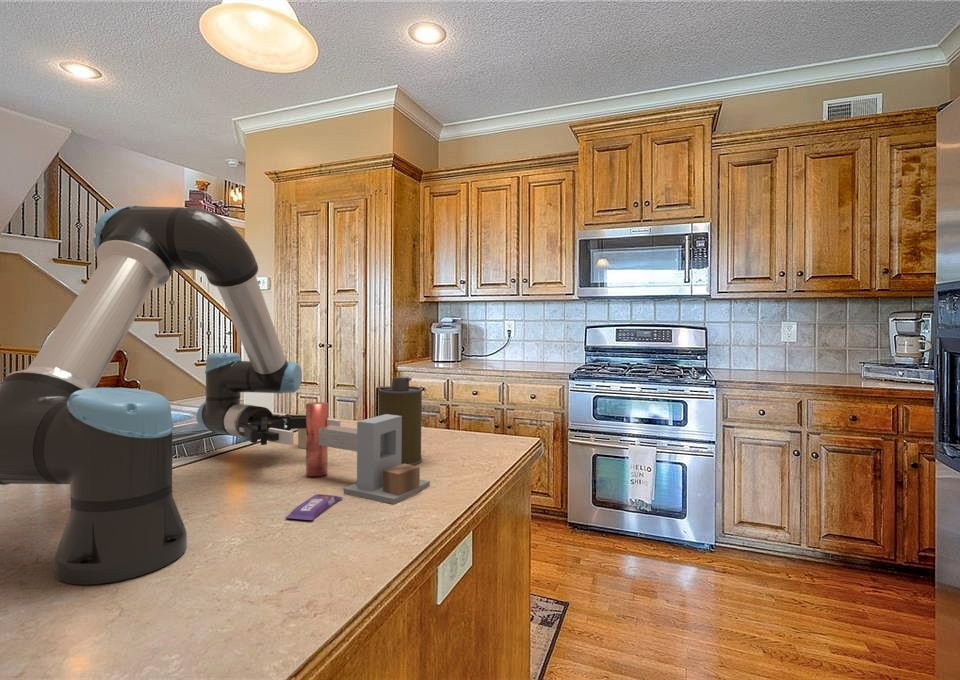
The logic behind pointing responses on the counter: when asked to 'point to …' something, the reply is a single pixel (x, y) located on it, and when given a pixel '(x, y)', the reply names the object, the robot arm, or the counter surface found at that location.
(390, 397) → the canister
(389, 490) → the bar
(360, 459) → the grey holder stand
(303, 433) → the candle
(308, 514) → the snack package
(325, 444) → the shaft
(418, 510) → the counter surface
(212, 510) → the counter surface
